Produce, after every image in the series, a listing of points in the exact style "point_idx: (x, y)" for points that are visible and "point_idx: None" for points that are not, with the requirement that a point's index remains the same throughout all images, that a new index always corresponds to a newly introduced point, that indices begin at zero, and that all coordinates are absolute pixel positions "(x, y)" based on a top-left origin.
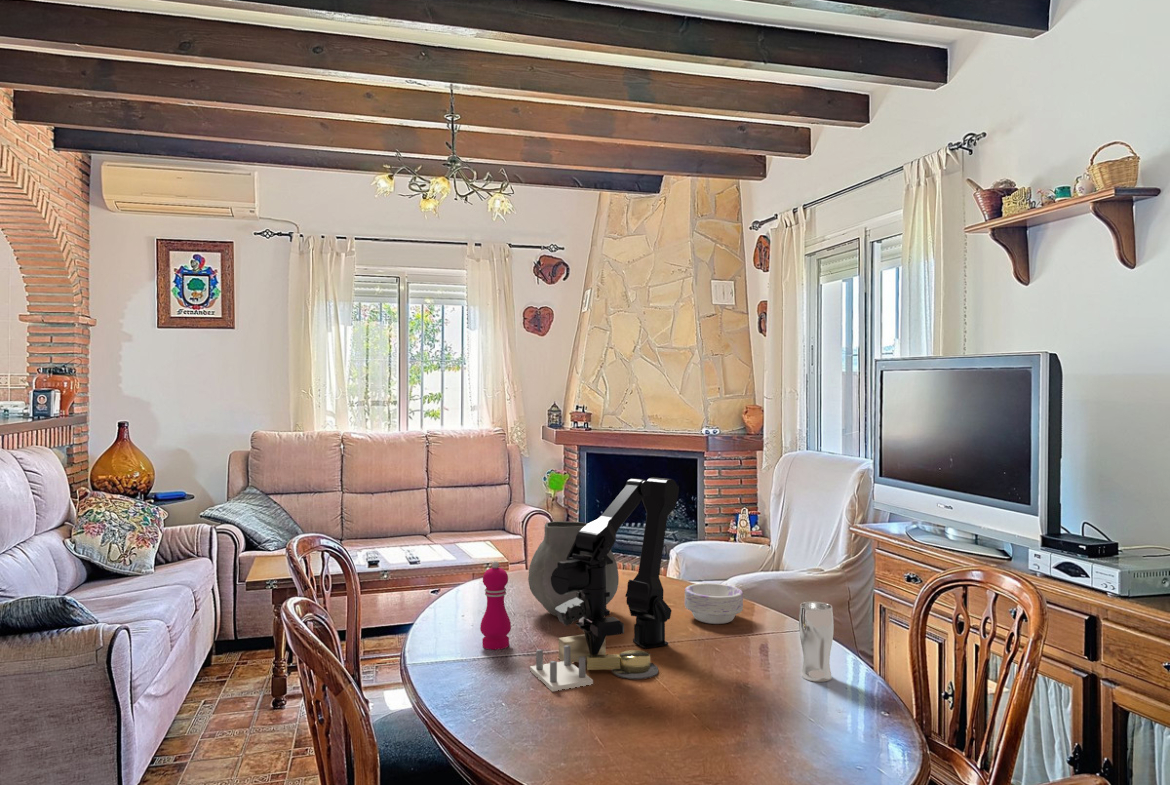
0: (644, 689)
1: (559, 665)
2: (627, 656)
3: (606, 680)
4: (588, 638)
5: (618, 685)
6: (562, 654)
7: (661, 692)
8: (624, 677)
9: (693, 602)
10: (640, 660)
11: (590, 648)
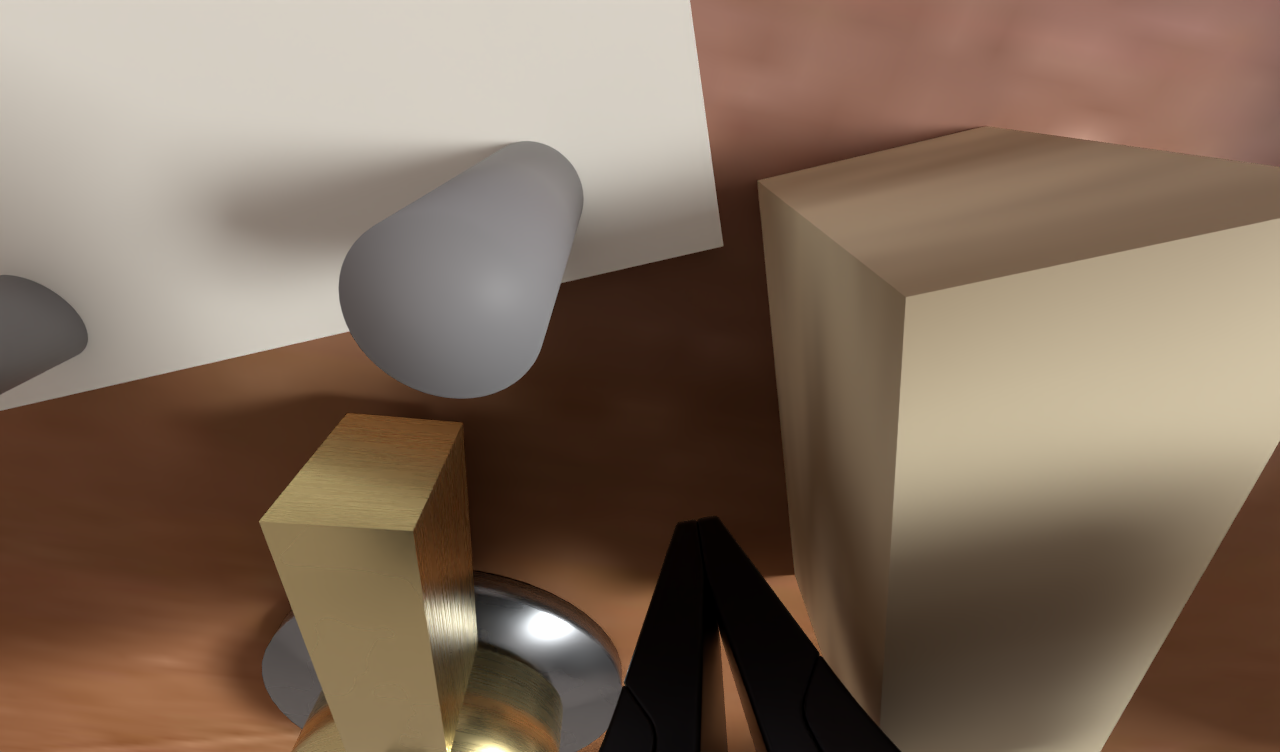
0: (83, 671)
1: (510, 47)
2: None
3: (213, 506)
4: (763, 740)
5: (108, 562)
6: (885, 183)
7: (63, 722)
8: (285, 621)
9: None
10: None
11: (692, 600)
